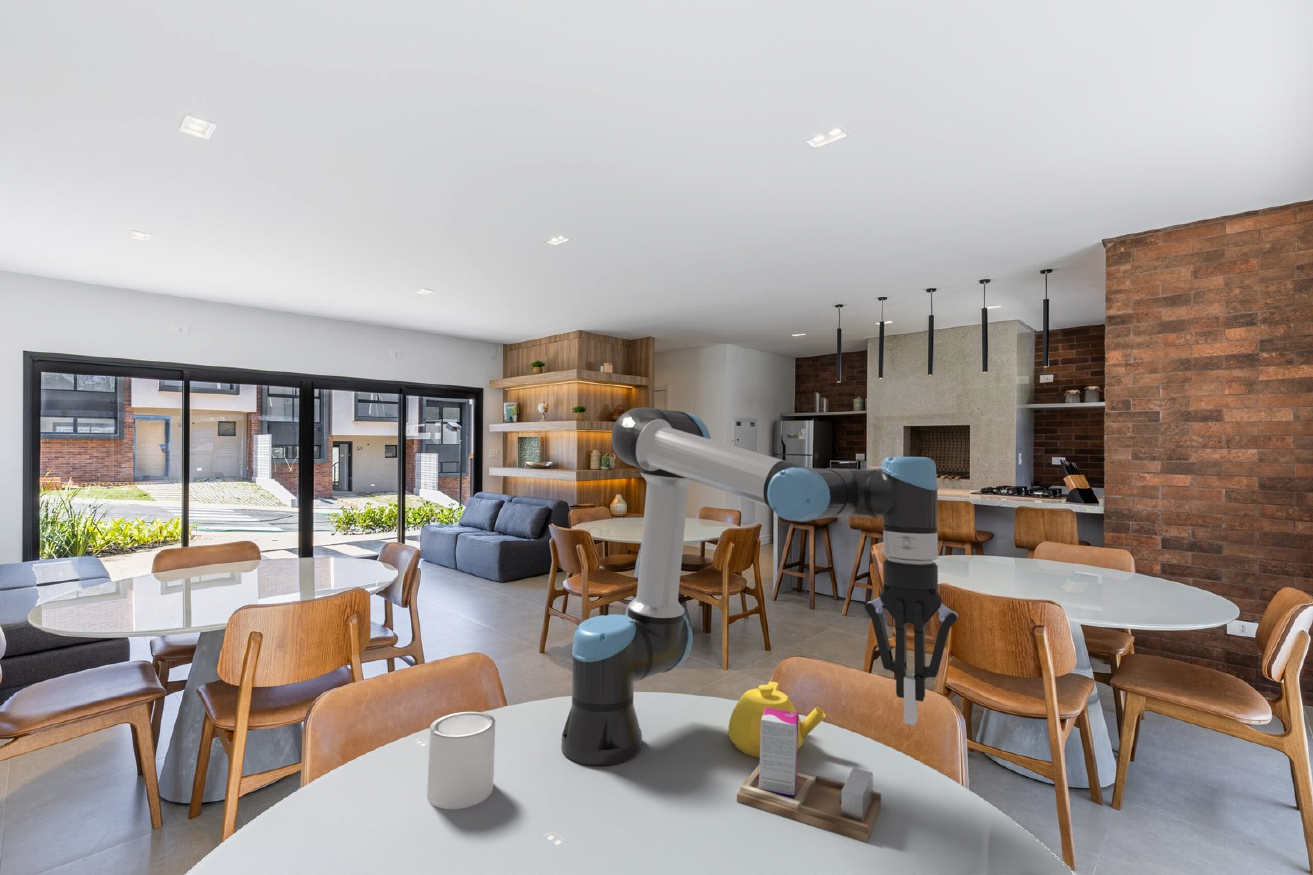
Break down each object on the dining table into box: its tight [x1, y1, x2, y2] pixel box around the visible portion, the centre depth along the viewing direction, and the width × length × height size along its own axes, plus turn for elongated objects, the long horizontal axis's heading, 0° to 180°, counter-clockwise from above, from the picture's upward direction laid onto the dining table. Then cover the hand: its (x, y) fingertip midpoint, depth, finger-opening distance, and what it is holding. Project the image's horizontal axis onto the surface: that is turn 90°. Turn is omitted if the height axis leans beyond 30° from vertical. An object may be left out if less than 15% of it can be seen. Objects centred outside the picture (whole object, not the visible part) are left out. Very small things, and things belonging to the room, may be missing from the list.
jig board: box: [736, 763, 882, 843], centre depth 96 cm, size 20×11×2 cm, turn 60°
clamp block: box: [839, 767, 874, 823], centre depth 93 cm, size 4×8×4 cm, turn 150°
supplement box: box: [759, 708, 800, 798], centre depth 99 cm, size 6×6×12 cm
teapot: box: [727, 680, 827, 759], centre depth 116 cm, size 20×18×11 cm
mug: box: [426, 711, 496, 810], centre depth 100 cm, size 14×10×11 cm
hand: (910, 720), depth 89 cm, fingers closed
